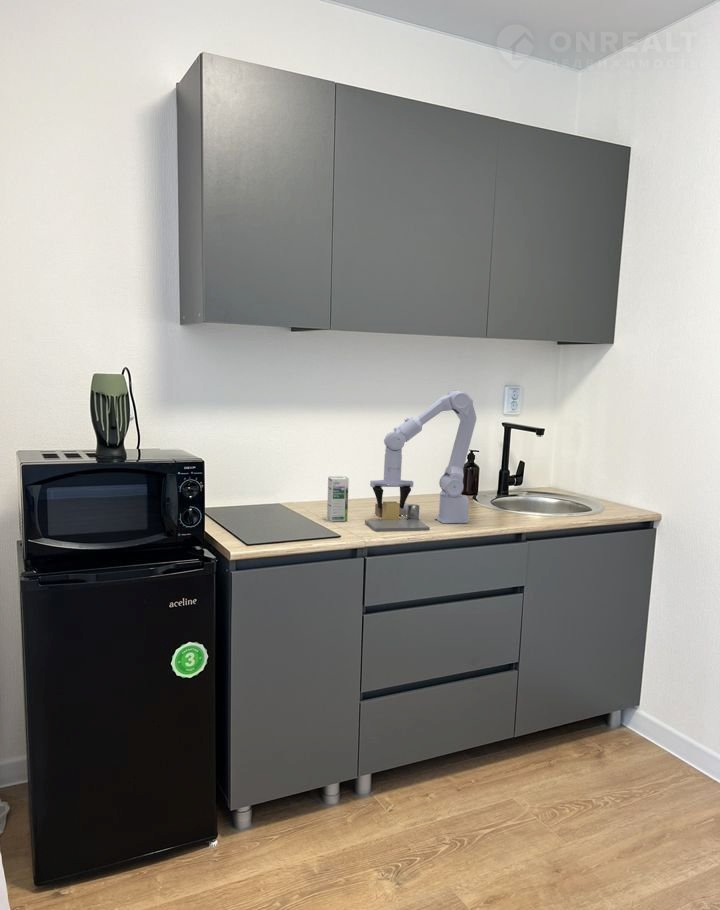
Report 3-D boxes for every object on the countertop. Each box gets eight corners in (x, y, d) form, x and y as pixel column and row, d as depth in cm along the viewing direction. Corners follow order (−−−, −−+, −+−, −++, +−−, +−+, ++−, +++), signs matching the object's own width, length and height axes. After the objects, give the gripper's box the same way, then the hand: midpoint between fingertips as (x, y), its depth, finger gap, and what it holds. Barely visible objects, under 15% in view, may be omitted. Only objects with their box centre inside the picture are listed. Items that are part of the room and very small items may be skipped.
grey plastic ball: (406, 514, 247) (407, 503, 246) (410, 516, 243) (410, 505, 242) (395, 514, 246) (396, 503, 245) (399, 516, 242) (400, 505, 241)
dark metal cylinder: (416, 518, 240) (417, 504, 239) (420, 521, 236) (421, 506, 235) (405, 518, 239) (406, 504, 238) (409, 521, 235) (409, 506, 234)
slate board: (416, 522, 234) (417, 519, 233) (429, 530, 222) (429, 527, 222) (364, 523, 229) (365, 520, 229) (375, 531, 217) (375, 528, 217)
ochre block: (394, 518, 238) (395, 501, 237) (398, 521, 234) (399, 504, 233) (382, 519, 237) (382, 501, 236) (386, 521, 233) (386, 504, 232)
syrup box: (330, 521, 229) (332, 478, 227) (326, 518, 235) (328, 475, 233) (347, 521, 231) (349, 478, 229) (343, 517, 236) (344, 475, 235)
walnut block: (388, 514, 246) (389, 503, 245) (393, 517, 241) (393, 506, 240) (374, 514, 244) (375, 503, 244) (379, 517, 240) (379, 506, 239)
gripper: (409, 466, 239) (407, 505, 241) (368, 466, 235) (366, 505, 237) (416, 469, 232) (414, 509, 234) (374, 469, 228) (372, 510, 230)
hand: (390, 508), depth 235 cm, fingers open, 7 cm apart
